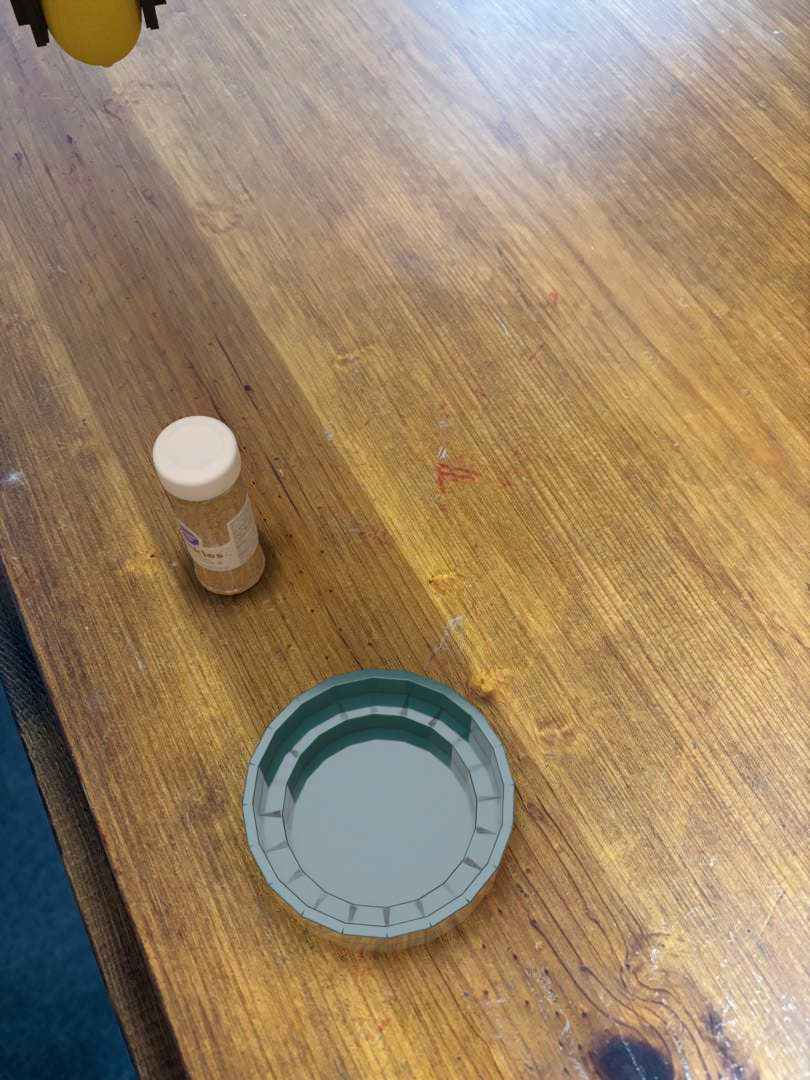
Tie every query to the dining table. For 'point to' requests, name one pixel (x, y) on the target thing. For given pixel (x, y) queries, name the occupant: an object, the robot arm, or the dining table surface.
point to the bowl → (379, 809)
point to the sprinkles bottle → (210, 502)
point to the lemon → (94, 28)
